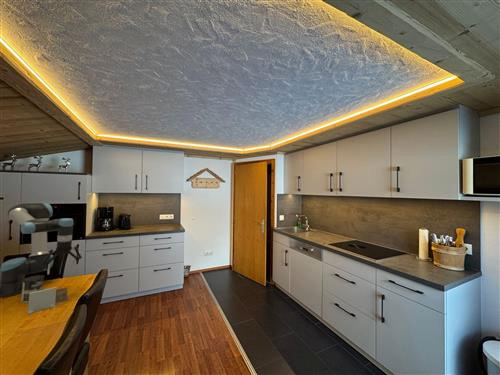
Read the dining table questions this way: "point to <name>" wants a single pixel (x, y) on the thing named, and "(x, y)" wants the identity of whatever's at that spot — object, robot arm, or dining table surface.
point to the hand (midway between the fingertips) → (61, 271)
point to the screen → (41, 300)
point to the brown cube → (61, 294)
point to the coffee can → (31, 286)
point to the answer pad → (62, 300)
